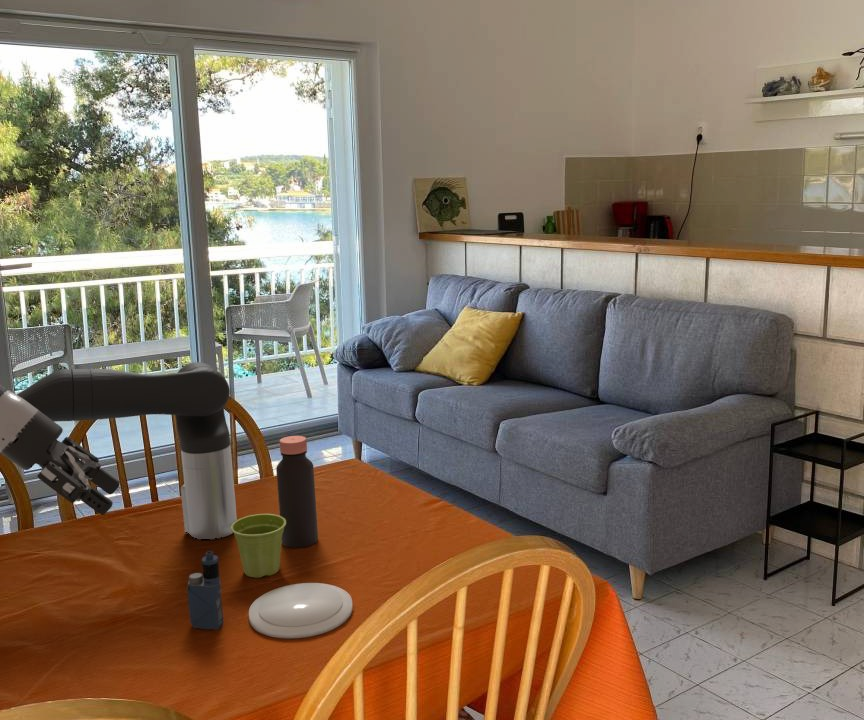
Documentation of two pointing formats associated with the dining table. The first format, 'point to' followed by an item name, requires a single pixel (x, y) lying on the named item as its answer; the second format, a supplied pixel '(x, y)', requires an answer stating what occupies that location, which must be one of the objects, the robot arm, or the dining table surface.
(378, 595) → the dining table surface
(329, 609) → the plate
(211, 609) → the vaping device
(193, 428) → the robot arm
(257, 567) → the plant pot
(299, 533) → the bottle
